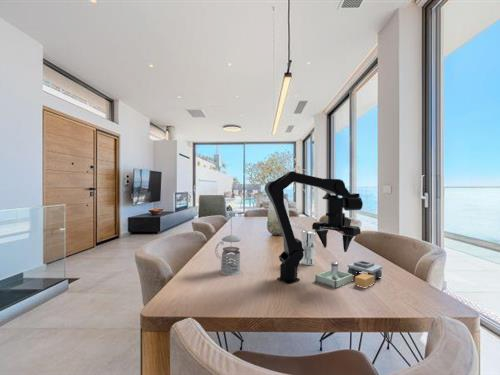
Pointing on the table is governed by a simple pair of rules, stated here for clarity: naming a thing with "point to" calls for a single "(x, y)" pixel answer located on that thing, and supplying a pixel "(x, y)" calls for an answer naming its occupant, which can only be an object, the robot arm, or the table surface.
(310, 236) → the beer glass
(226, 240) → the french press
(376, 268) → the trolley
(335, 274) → the pin
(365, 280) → the orange rectangular block
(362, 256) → the table surface
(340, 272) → the tray
